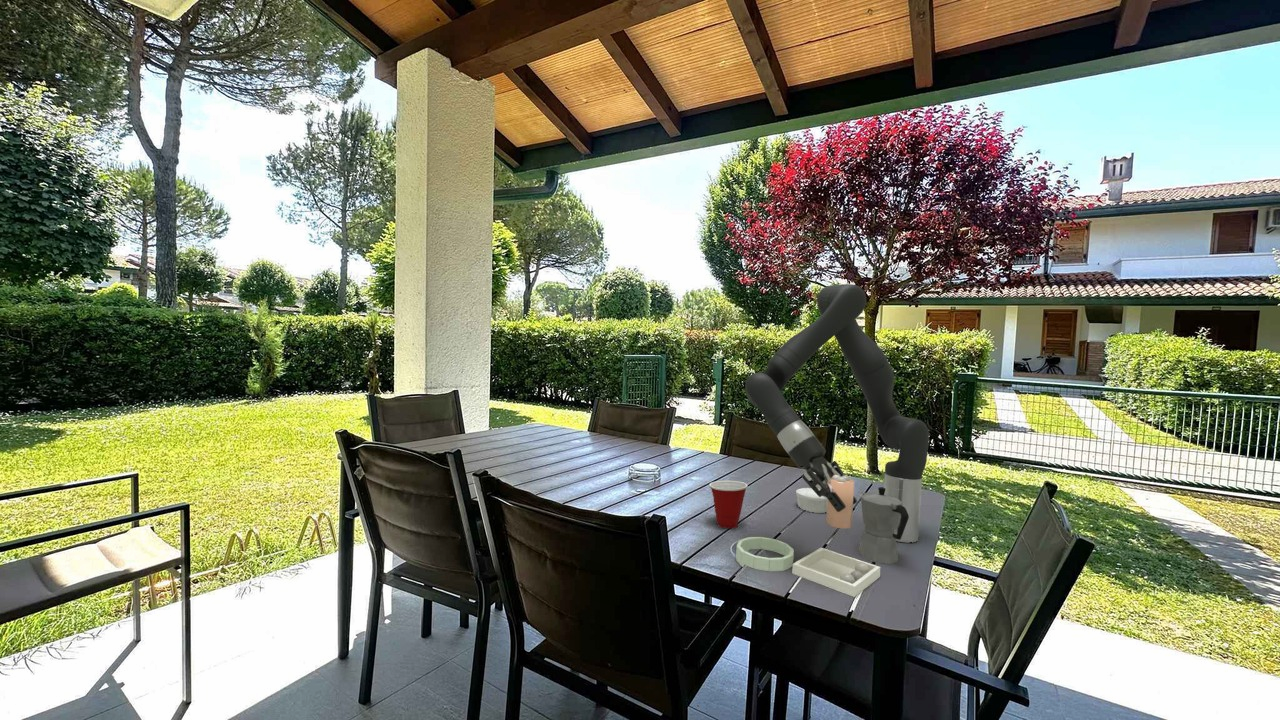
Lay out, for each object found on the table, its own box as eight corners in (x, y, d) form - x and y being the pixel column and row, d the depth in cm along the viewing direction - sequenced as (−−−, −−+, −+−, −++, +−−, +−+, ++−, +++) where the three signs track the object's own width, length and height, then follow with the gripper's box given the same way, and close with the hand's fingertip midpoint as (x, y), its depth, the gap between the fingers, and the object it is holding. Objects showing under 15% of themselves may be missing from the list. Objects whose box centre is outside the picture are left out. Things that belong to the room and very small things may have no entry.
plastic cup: (719, 515, 156) (721, 476, 156) (752, 524, 149) (754, 483, 149) (700, 524, 148) (701, 483, 147) (733, 535, 141) (735, 491, 140)
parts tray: (820, 559, 127) (821, 544, 127) (879, 580, 117) (880, 563, 117) (792, 576, 117) (792, 560, 117) (854, 600, 107) (855, 582, 107)
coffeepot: (844, 549, 134) (848, 480, 133) (875, 547, 136) (879, 479, 135) (886, 576, 119) (891, 499, 118) (920, 573, 121) (925, 497, 121)
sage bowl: (741, 547, 133) (742, 533, 133) (794, 556, 128) (795, 542, 128) (732, 567, 121) (733, 553, 120) (790, 578, 116) (791, 563, 116)
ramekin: (789, 503, 171) (790, 487, 171) (822, 503, 172) (823, 487, 172) (804, 514, 160) (804, 497, 160) (838, 514, 161) (839, 498, 161)
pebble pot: (826, 518, 120) (828, 471, 120) (851, 521, 118) (853, 474, 118) (826, 526, 115) (828, 477, 115) (852, 530, 113) (855, 480, 113)
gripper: (796, 438, 116) (846, 505, 108) (825, 431, 126) (873, 491, 118) (774, 457, 120) (821, 523, 112) (804, 449, 130) (849, 508, 122)
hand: (847, 506), depth 115 cm, fingers closed on pebble pot, 5 cm apart
